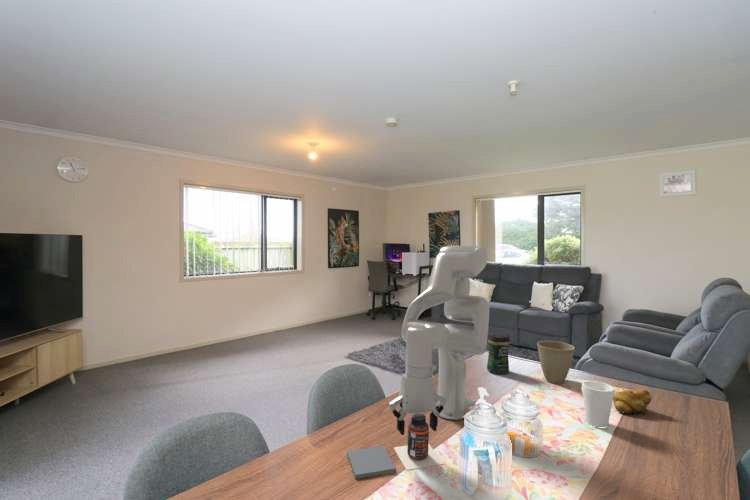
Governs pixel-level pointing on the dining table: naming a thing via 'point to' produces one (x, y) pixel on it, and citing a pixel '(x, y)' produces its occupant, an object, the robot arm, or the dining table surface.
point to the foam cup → (597, 402)
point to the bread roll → (631, 400)
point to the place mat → (370, 462)
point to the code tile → (414, 464)
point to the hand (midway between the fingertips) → (417, 430)
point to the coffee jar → (498, 353)
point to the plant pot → (555, 360)
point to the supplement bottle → (418, 437)
